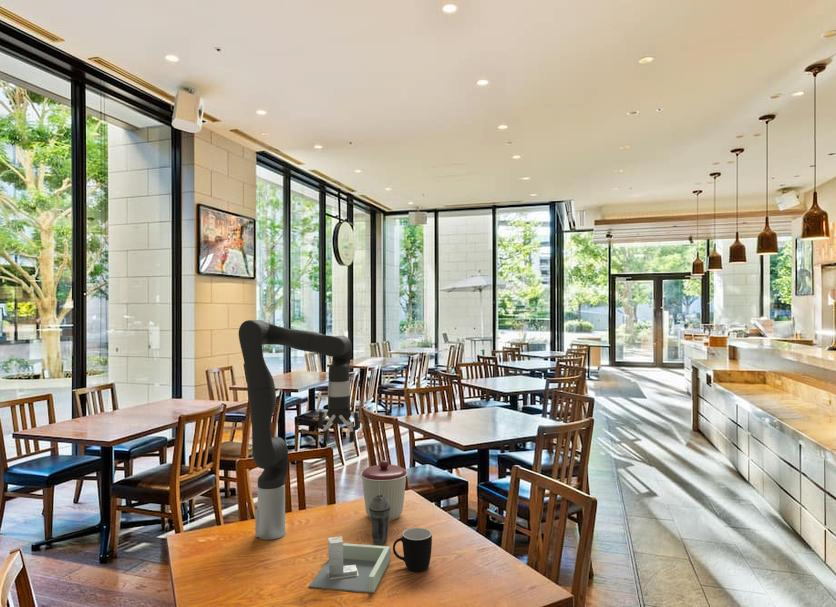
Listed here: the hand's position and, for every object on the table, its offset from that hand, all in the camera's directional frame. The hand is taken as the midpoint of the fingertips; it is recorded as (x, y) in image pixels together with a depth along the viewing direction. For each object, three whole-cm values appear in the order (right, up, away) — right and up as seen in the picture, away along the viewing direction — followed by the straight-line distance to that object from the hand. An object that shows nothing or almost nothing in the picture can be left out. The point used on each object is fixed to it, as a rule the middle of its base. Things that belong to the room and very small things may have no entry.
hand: (339, 441), depth 179 cm
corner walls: (+7, -33, -24) cm, 41 cm away
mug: (+25, -33, -20) cm, 46 cm away
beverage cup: (+14, -33, -3) cm, 36 cm away
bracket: (+5, -32, -25) cm, 41 cm away
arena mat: (+7, -33, -24) cm, 41 cm away
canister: (+14, -34, +19) cm, 41 cm away
